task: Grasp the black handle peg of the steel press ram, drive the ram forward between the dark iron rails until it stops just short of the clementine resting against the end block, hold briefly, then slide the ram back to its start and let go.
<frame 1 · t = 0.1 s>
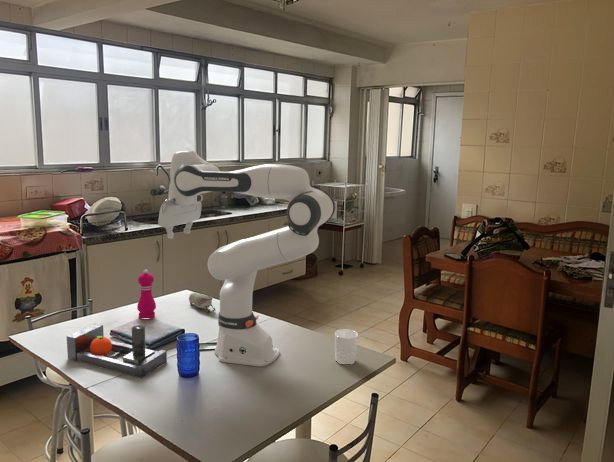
hand: (178, 235, 177), 39 cm above the table, tool pointing down, fingers open, 8 cm apart
press: (117, 360, 166), on the table
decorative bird: (201, 309, 217), on the table
clementine: (100, 356, 169), resting in press
white cup: (344, 361, 172), on the table
pepper mill: (146, 317, 205), on the table
ram: (138, 346, 162), point 7 cm above the table, slide at 0.0 cm
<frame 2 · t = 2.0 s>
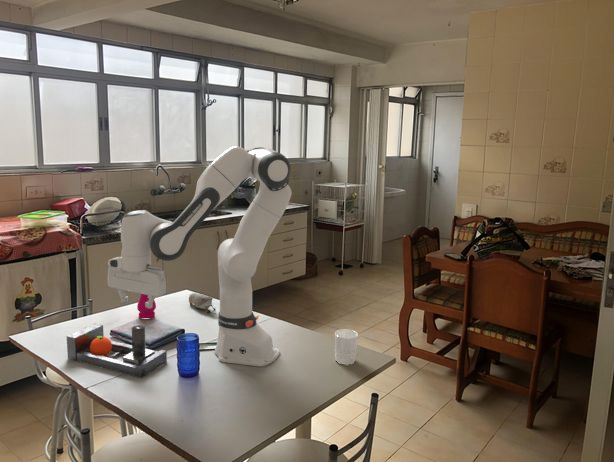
hand: (136, 305, 159), 21 cm above the table, tool pointing down, fingers open, 8 cm apart
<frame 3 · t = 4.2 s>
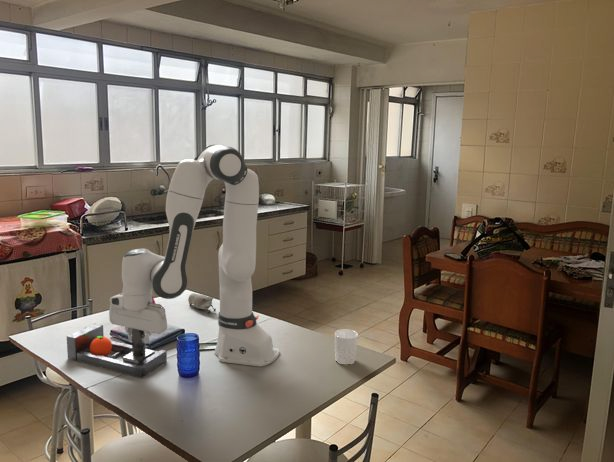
hand: (138, 341, 161), 9 cm above the table, tool pointing down, fingers closed on ram, 4 cm apart
ram: (138, 346, 162), point 7 cm above the table, slide at 0.0 cm, touching gripper
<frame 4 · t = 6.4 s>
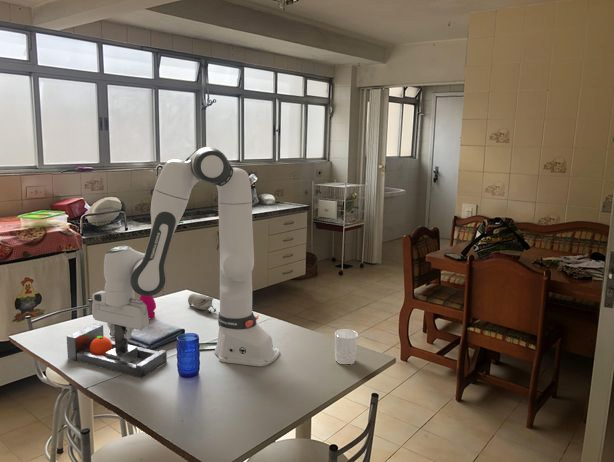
hand: (121, 337, 164), 9 cm above the table, tool pointing down, fingers closed on ram, 4 cm apart
ram: (121, 342, 164), point 7 cm above the table, slide at 7.0 cm, touching gripper
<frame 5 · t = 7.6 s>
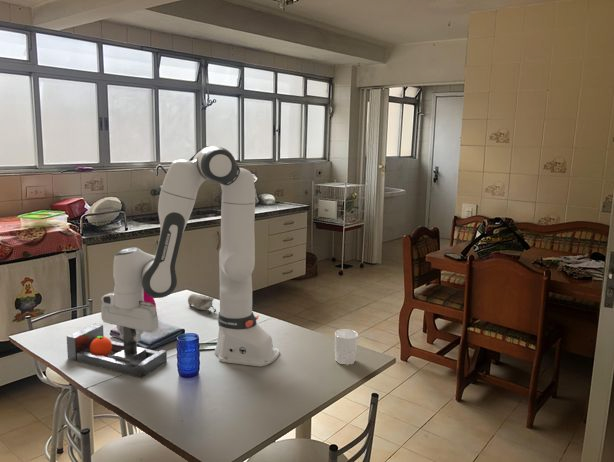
hand: (130, 339, 163), 8 cm above the table, tool pointing down, fingers closed on ram, 4 cm apart
ram: (130, 344, 163), point 7 cm above the table, slide at 3.4 cm, touching gripper
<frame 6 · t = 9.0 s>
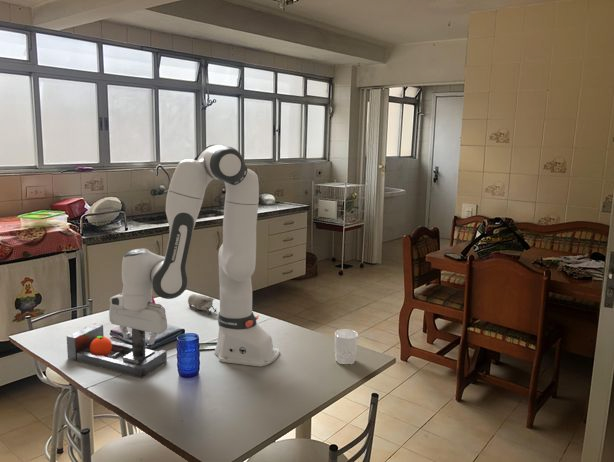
hand: (138, 341, 161), 9 cm above the table, tool pointing down, fingers open, 8 cm apart
ram: (138, 346, 162), point 7 cm above the table, slide at 0.0 cm
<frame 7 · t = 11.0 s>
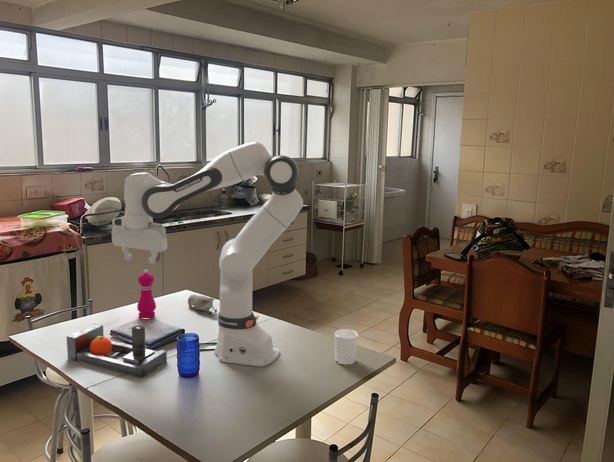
hand: (140, 261, 171), 31 cm above the table, tool pointing down, fingers open, 8 cm apart
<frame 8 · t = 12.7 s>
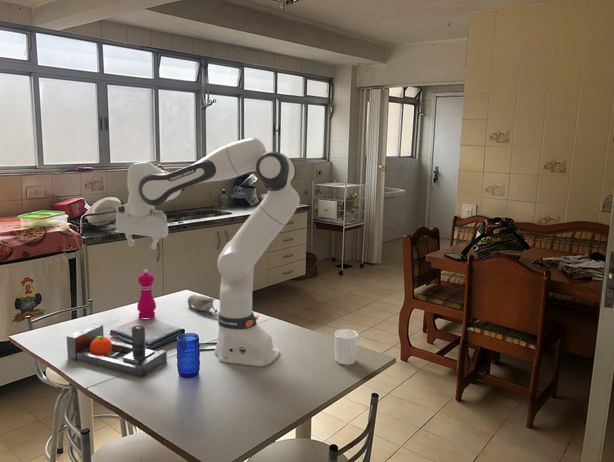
hand: (142, 247, 178), 34 cm above the table, tool pointing down, fingers open, 8 cm apart
at the end: ram slide at 0.0 cm; clementine moved 0.2 cm from its start; the gripper is holding nothing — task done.
